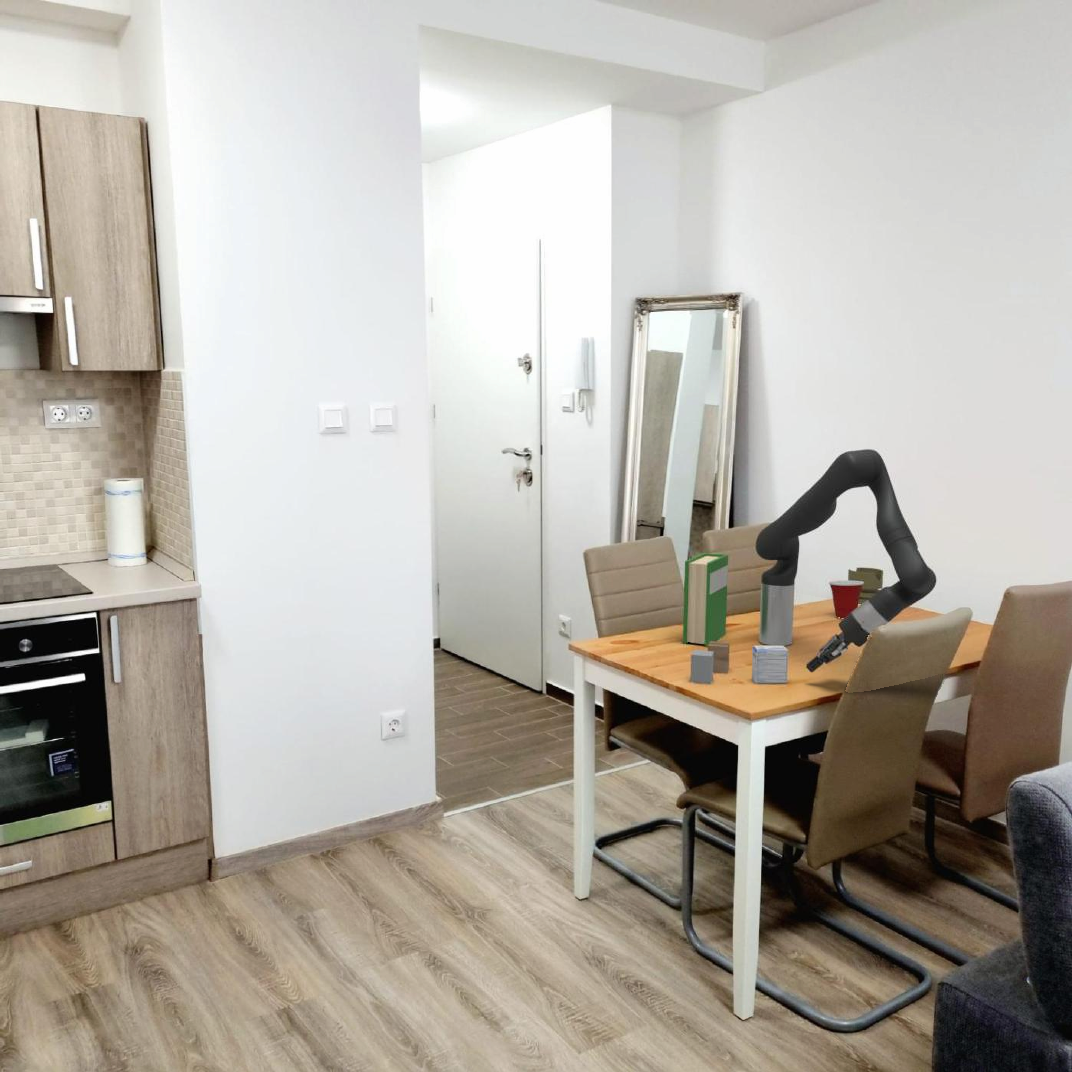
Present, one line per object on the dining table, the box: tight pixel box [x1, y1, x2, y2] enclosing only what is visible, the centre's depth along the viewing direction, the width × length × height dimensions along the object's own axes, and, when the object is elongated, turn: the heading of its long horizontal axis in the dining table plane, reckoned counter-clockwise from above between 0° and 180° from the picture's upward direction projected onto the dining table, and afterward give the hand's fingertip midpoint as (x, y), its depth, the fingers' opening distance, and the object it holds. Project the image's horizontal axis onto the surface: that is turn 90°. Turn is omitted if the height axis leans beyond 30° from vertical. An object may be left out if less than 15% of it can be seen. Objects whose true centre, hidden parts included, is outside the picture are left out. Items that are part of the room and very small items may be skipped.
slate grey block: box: [689, 649, 714, 685], centre depth 254 cm, size 5×5×7 cm
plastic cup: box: [828, 580, 864, 618], centre depth 329 cm, size 11×11×12 cm
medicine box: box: [751, 645, 789, 684], centre depth 253 cm, size 8×4×9 cm, turn 92°
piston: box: [847, 567, 884, 604], centre depth 351 cm, size 11×12×11 cm
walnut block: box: [707, 641, 731, 675], centre depth 263 cm, size 5×5×7 cm
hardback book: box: [682, 552, 729, 648], centre depth 297 cm, size 18×7×24 cm, turn 154°
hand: (808, 669), depth 251 cm, fingers closed
